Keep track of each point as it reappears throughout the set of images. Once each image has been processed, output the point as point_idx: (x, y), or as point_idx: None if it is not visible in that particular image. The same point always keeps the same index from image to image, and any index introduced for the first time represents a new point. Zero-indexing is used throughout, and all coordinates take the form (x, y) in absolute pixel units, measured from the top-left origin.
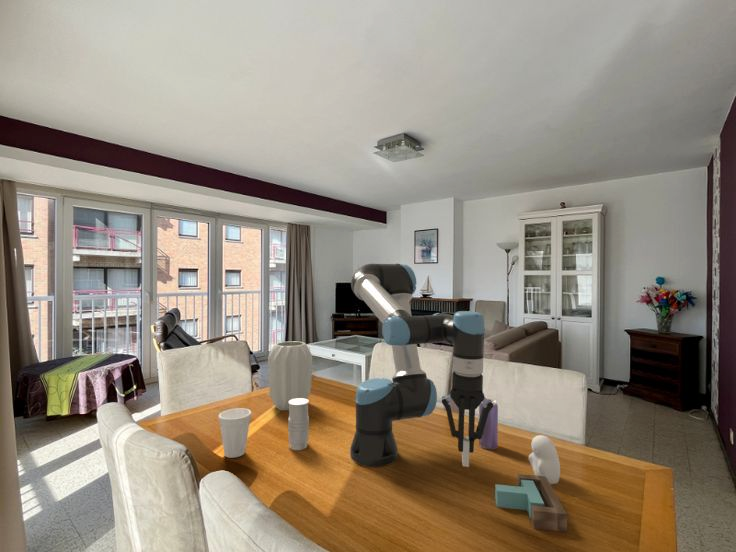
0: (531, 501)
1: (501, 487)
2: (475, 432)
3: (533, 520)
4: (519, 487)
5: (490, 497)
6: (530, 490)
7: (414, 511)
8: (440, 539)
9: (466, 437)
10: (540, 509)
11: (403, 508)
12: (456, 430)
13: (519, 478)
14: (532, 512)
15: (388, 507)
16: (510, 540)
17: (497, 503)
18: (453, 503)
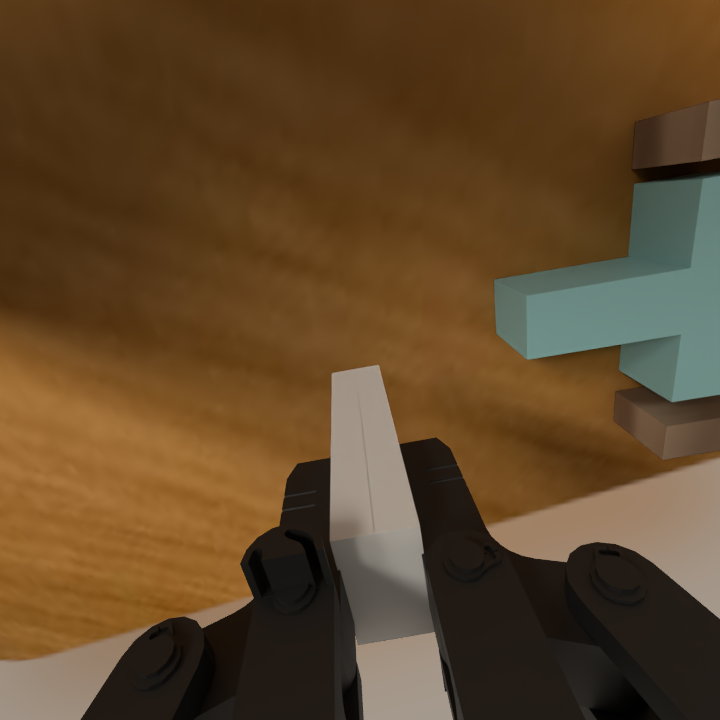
0: (678, 394)
1: (556, 319)
2: (574, 658)
3: (631, 428)
4: (660, 281)
5: (473, 266)
6: (713, 292)
7: (172, 471)
8: None
9: (392, 557)
10: (695, 442)
11: (125, 469)
12: (217, 708)
13: (698, 159)
14: (648, 428)
15: (68, 482)
16: (515, 500)
17: (503, 338)
18: (308, 373)
